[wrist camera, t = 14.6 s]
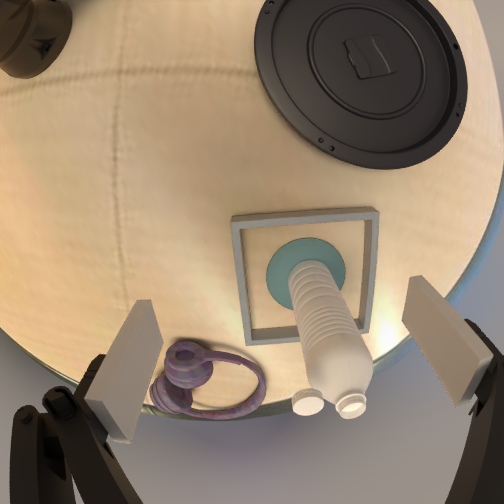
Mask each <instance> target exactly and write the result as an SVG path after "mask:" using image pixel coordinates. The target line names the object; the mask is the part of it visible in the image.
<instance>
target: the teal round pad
mask: <svg viewBox="0 0 504 504" xmlns="http://www.w3.org/2000/svg"><path fill="white" fill-rule="evenodd" d="M306 260H316V261H319V262H322V263H323V264H324V265H326V267H327V268H328V269H329V271H330V273H331V275H332V277H333V279H334V281H335V283H336V285H337V287H338V289H339V291H340V290H341V288H342V286H343V283H344V279H345V265H344V261H343V259H342V257H341V255H340V254H339V252H338V251H337V250H336V249H335V248H334V247H333V246H332V245H331V244H329V243H327V242H325V241H323V240H320V239H316V238H302V239H297V240H294V241H292V242H289V243H287V244H286V245H284V246H283V247H281V248H280V249H279V250H278V251H277V252H276V253H275V254H274V256H273V257H272V259H271V260H270V263H269V265H268V268H267V274H266V281H267V286H268V289H269V292H270V294H271V295H272V297H273V298H274V299H275V300H276V301H277V302H278V303H279V304H281V305H282V306H284V307H286V308H288V309H291V310H294V308H293V304H292V299H291V295H290V291H289V286H288V277H289V274H290V272H291V270H292V269H293V268H294V267H295V266H296V265H297V264H298V263H300V262H302V261H306Z"/></svg>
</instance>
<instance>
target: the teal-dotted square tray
mask: <svg viewBox="0 0 504 504" xmlns="http://www.w3.org/2000/svg"><path fill="white" fill-rule="evenodd" d="M355 220H365V238H364V259H363V275H362V288H361V300H360V310H359V319H354V321H355V323H356V326H357V328H358V330H359V332H360V334H365V333H369V328H370V320H371V313H372V305H373V296H374V286H375V276H376V264H377V250H378V232H379V211H377V210H376V209H374V208H373V207H357V208H339V209H323V210H308V211H293V212H280V213H267V214H255V215H244V216H232V219H231V222H230V223H231V232H232V240H233V249H234V257H235V265H236V273H237V281H238V289H239V297H240V305H241V313H242V321H243V328H244V336H245V343H246V346H253V345H267V344H280V343H291V342H301V341H300V336H299V332H298V328H297V326H290V327H278V328H266V329H252V327H251V318H250V309H249V300H248V291H247V282H246V273H245V264H244V255H243V246H242V237H241V229H247V228H259V227H271V226H284V225H297V224H311V223H325V222H339V221H355Z"/></svg>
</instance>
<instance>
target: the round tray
mask: <svg viewBox="0 0 504 504" xmlns="http://www.w3.org/2000/svg"><path fill="white" fill-rule="evenodd" d="M254 52H255V60H256V65H257V69H258V72H259V75H260V78H261V81H262V84H263V86H264V88H265V90H266V92H267V94H268V96H269V98H270V100H271V101H272V103H273V104H274V106H275V107H276V109H277V110H278V112H279V113H280V114H281V116H282V117H283V118H284V119H285V120H286V122H287V123H288V124H289V125H290V126H291V127H292V128H293V129H294V130H295V131H296V132H297V133H298V134H299V135H301V136H302V137H303V138H304V139H305V140H307V141H308V142H309V143H311V144H312V145H314V146H315V147H316V148H318V149H320V150H321V151H323V152H325V153H327V154H328V155H330V156H332V157H334V158H337V159H339V160H341V161H344V162H346V163H349V164H352V165H356V166H360V167H364V168H370V169H380V170H391V169H400V168H406V167H410V166H413V165H416V164H419V163H421V162H423V161H425V160H427V159H429V158H431V157H432V156H434V155H435V154H436V153H438V152H439V151H440V150H441V149H442V148H443V147H444V146H445V145H446V144H447V143H448V142H449V141H450V140H451V138H452V137H453V135H454V134H455V132H456V131H457V129H458V127H459V125H460V123H461V120H462V118H463V115H464V111H465V107H466V102H467V92H468V83H467V72H466V66H465V62H464V58H463V55H462V52H461V49H460V46H459V44H458V42H457V39H456V37H455V35H454V33H453V32H452V30H451V28H450V27H449V25H448V23H447V22H446V20H445V19H444V18H443V16H442V15H441V14H440V13H439V11H438V10H437V9H436V8H435V7H434V6H433V5H432V4H431V3H430V2H429V1H428V0H266V1H265V3H264V4H263V6H262V8H261V10H260V13H259V16H258V19H257V22H256V27H255V34H254Z"/></svg>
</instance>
